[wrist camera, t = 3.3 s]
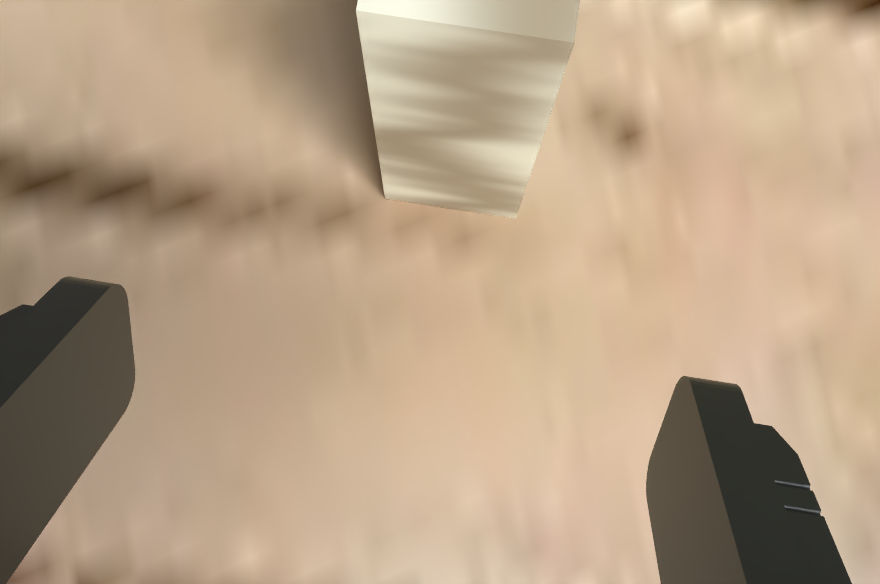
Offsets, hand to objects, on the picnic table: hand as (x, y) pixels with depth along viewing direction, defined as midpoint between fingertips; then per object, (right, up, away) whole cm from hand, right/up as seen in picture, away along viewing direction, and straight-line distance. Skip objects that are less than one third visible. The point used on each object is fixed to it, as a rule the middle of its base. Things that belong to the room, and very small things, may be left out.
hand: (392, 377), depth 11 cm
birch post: (+1, +6, +16) cm, 17 cm away
